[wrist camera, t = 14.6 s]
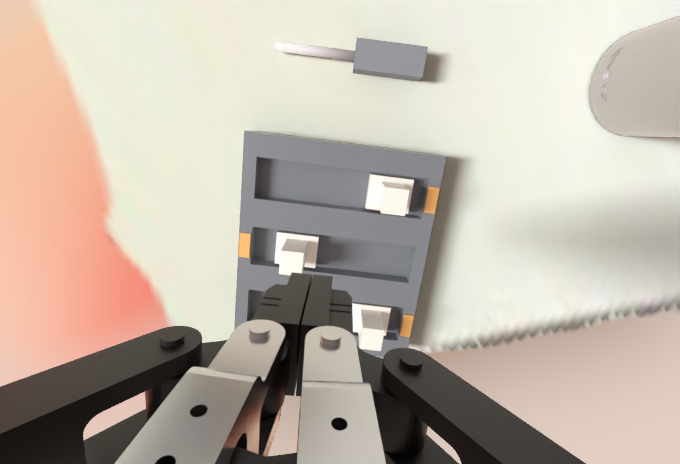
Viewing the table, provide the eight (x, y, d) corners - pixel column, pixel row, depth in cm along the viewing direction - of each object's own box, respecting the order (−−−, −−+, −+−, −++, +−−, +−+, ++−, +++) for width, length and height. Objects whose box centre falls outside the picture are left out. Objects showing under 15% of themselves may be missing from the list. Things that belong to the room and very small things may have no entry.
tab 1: (319, 233, 35) (315, 249, 30) (316, 263, 36) (312, 283, 31) (279, 228, 35) (269, 243, 30) (276, 259, 36) (266, 278, 31)
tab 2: (411, 178, 33) (422, 185, 29) (405, 211, 34) (415, 223, 30) (369, 172, 33) (374, 179, 29) (364, 206, 34) (368, 217, 30)
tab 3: (389, 302, 37) (396, 326, 32) (384, 329, 38) (390, 356, 33) (351, 298, 37) (352, 321, 32) (347, 325, 38) (348, 352, 33)
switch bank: (437, 154, 34) (447, 156, 31) (401, 343, 40) (406, 360, 37) (252, 130, 34) (243, 130, 31) (241, 324, 40) (233, 341, 37)
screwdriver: (421, 53, 32) (427, 46, 30) (417, 81, 33) (422, 77, 30) (278, 34, 32) (273, 26, 30) (276, 63, 33) (271, 58, 30)
